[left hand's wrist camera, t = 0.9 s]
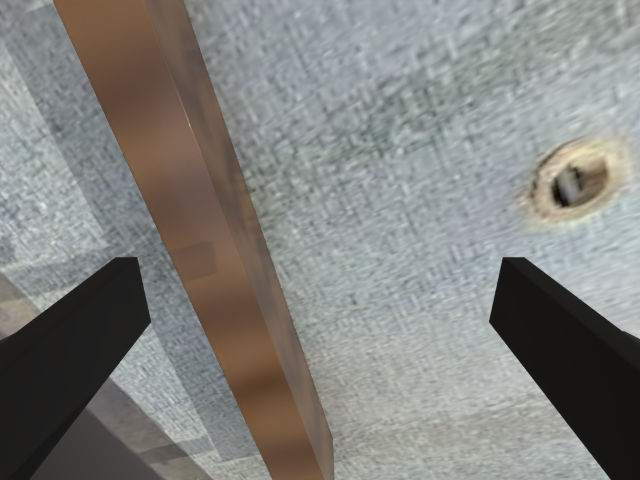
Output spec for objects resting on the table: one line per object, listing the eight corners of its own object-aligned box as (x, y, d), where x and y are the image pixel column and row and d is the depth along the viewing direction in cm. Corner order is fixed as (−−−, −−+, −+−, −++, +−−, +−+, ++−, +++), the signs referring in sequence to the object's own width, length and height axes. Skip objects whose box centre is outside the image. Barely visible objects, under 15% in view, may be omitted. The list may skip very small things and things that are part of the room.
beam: (107, -20, 27) (18, -72, 19) (169, -40, 27) (104, -103, 19) (295, 446, 46) (289, 518, 38) (332, 439, 46) (335, 510, 38)
